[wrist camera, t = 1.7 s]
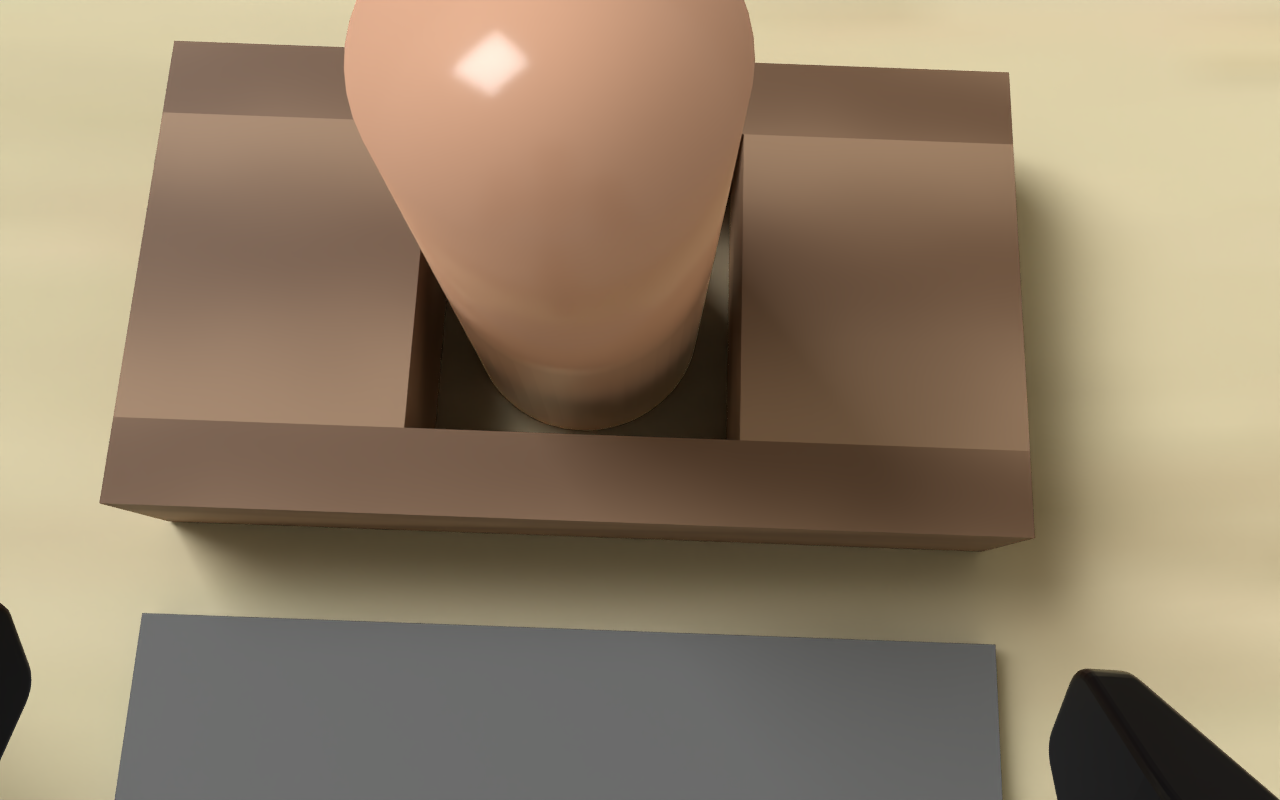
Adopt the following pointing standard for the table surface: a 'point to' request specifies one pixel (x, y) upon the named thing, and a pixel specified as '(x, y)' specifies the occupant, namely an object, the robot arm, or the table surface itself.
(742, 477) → the well block
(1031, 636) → the table surface
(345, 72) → the pink tall rounded piece
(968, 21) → the table surface
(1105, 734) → the robot arm
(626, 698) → the mat
